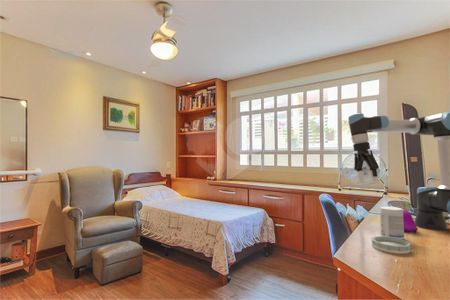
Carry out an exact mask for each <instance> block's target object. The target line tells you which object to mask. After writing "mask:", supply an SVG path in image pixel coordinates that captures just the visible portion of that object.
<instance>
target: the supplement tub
mask: <svg viewBox="0 0 450 300" xmlns="http://www.w3.org/2000/svg"><path fill="white" fill-rule="evenodd" d="M379 213H380V214H379V215H380V234H381V235H380V236H386V237H394V238H398V239H402V240H405V232H404V221H403V208H400V207H395V206H380V211H379Z"/></svg>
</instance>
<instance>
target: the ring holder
mask: <svg viewBox="0 0 450 300" xmlns="http://www.w3.org/2000/svg"><path fill="white" fill-rule="evenodd" d="M371 247H373V248H374V249H376V250H378V251H381V252H386V253H389V254H397V255H407V254H410V253H411V249H412V244H411V243H410V241H407V240H405V239H403V240H402V239H398V238H394V237H386V236H381V235H377V236H376V235H375V236H372V237H371Z"/></svg>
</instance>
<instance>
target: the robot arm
mask: <svg viewBox="0 0 450 300" xmlns="http://www.w3.org/2000/svg"><path fill="white" fill-rule="evenodd" d="M348 126H349V130H350V131H349V132H350V135H351V138H350V139H351V141H352V144H353V145H352V146H353V151H354V152H355V153H354V165H353V166H354V171H356V173H357V179H358V184H364V183H366V180H365V175H364V170H363V165H364V162H365V163H366V164H367V166H368V167H369V172H370V178H371V182H372V184H379V177H378V171H377V170H378V169H379V168H380V166H379V163H378V162H377V160H376V158H375V156H374V154H373V150H371V146H370V142H369V136H368V133H382V134H383V133H388V134H389V133H394V134H395V133H398V134H399V133H405V134H407V133H408V134H410V135H421V136H422V135H423V136H433V138H434V139H435V140H436V141H437V152H438V170H439V184H438V186H429V187H428V186H427V187H426V186H423V187H421V186H420V187H418V188H416V203H417V205H416V206H417V212H416V215H415V219H413V220H414V222H415V225H416V227H417V228H418V227H419V228H422V229H427V230H434V231H446V230H447V231H448V229H449V225H448V222H447V221H446V218H445V216H444V213H448V214H450V110H449V111H444V112H440V113H435V114H430V115H426V116H420V117H412V118H410V119H389V117H388V116H387V115H385V114H381V115H380V114H378V115H371V116H365V115H364V113H361V112H360V113H353V114H350V115H349V116H348Z"/></svg>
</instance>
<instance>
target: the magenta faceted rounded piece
mask: <svg viewBox="0 0 450 300" xmlns="http://www.w3.org/2000/svg"><path fill="white" fill-rule="evenodd" d="M402 204H403V208H404V209H403V208H402V210H403V221H404V233H416V232H417V231H418V229H419V228H418V226H416V225H415V222H414V220H415V219H413V216H412V214H411V212H409V210H407V208H410V209H412V207H411V206H409V205H408V204H406V203H405V202H404V203H402Z"/></svg>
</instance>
